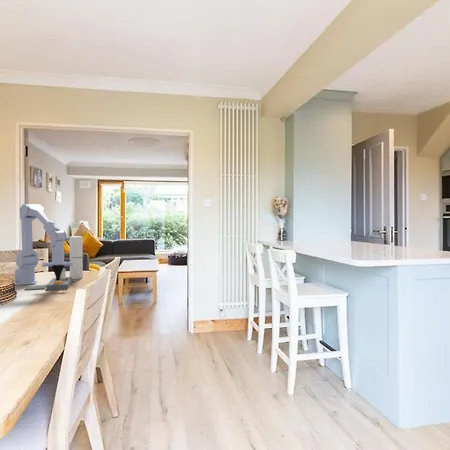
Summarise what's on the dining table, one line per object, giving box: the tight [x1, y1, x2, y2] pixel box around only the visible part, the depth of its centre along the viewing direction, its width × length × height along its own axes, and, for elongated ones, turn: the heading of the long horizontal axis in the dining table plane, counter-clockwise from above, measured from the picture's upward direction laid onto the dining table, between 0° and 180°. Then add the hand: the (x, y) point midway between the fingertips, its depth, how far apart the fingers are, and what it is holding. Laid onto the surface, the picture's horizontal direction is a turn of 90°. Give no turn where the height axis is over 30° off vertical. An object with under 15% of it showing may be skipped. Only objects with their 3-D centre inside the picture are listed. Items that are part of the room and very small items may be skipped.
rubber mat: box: [24, 284, 47, 291], centre depth 188 cm, size 9×9×1 cm
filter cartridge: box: [60, 268, 67, 280], centre depth 199 cm, size 5×5×8 cm
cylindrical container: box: [69, 235, 84, 280], centre depth 218 cm, size 7×7×25 cm
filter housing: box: [45, 276, 73, 291], centre depth 195 cm, size 10×22×2 cm, turn 17°
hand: (58, 280), depth 188 cm, fingers closed
